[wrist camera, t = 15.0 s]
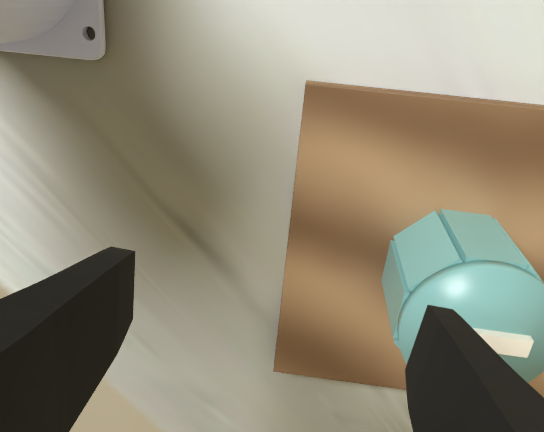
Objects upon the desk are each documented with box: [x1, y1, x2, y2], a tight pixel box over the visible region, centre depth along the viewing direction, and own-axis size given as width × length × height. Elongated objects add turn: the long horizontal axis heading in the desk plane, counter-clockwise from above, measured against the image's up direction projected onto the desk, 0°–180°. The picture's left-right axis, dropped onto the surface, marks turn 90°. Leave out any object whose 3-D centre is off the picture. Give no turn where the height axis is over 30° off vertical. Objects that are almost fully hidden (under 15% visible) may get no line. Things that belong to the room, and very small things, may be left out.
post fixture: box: [273, 81, 544, 397], centre depth 20 cm, size 14×14×4 cm
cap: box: [381, 209, 544, 383], centre depth 19 cm, size 5×5×5 cm
